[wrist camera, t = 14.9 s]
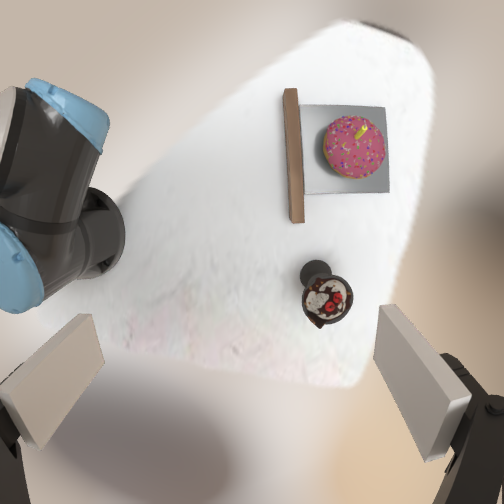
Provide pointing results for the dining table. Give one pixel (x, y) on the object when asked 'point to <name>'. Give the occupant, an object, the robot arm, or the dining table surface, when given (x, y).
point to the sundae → (324, 294)
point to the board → (315, 163)
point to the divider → (293, 155)
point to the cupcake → (354, 147)
